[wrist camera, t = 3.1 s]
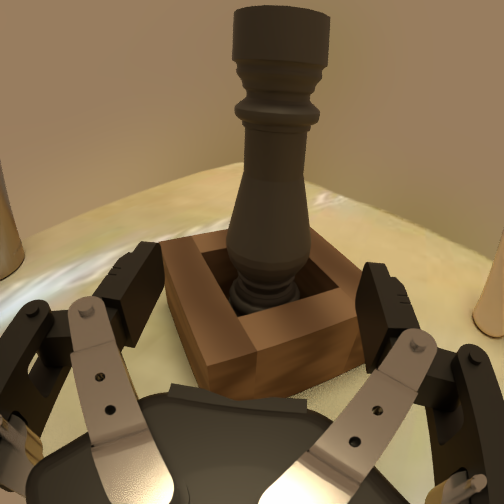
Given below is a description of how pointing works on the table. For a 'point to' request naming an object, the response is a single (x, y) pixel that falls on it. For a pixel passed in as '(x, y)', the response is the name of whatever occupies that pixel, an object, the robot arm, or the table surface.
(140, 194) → the table surface
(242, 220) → the candle holder
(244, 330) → the bore block
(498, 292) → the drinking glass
